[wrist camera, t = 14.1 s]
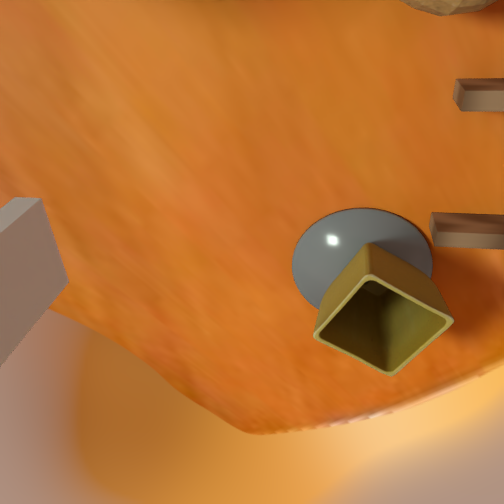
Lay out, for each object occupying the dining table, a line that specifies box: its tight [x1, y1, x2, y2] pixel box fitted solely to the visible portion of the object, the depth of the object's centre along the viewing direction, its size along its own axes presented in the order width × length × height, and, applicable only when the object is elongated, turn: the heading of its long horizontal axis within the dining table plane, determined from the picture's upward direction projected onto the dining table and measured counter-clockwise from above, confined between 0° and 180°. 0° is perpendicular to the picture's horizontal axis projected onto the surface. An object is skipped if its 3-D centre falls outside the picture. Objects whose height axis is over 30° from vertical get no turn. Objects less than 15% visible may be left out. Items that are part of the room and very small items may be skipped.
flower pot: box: [313, 243, 454, 376], centre depth 44 cm, size 9×9×9 cm
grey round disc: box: [292, 208, 433, 309], centre depth 48 cm, size 14×14×1 cm
